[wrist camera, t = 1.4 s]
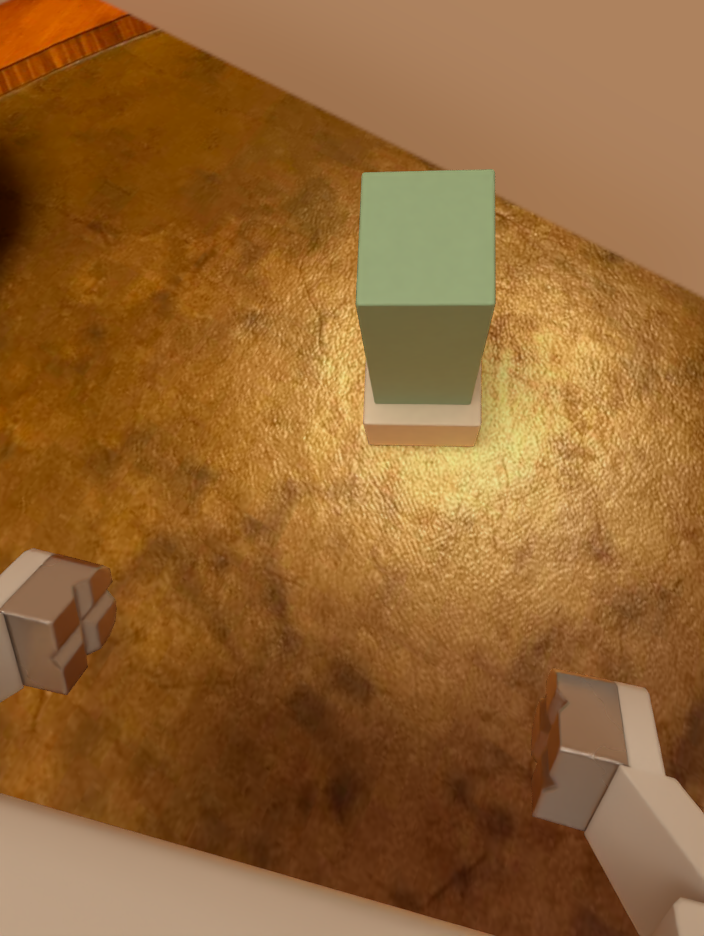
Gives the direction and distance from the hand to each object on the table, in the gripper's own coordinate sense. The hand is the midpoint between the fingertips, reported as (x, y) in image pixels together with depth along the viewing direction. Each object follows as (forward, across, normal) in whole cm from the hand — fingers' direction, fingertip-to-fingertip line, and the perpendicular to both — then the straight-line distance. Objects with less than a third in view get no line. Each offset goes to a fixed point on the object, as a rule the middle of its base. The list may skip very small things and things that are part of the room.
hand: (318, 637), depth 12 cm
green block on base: (+18, 0, +3) cm, 18 cm away
